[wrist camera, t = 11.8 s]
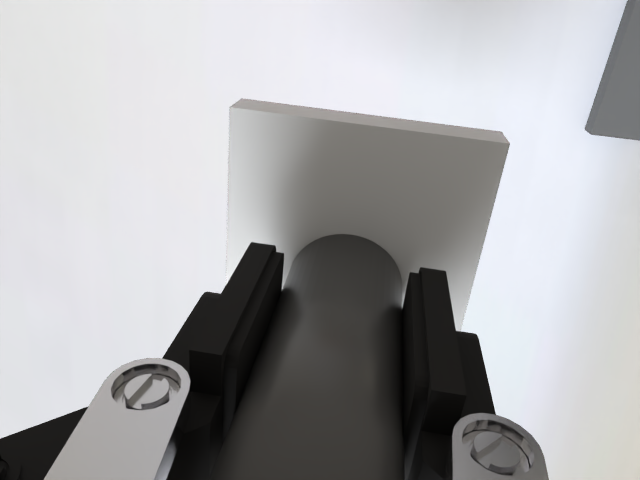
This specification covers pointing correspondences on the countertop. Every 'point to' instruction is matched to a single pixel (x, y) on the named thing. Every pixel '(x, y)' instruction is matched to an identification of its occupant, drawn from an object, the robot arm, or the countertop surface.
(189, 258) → the countertop surface
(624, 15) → the mat
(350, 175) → the grey post stand
